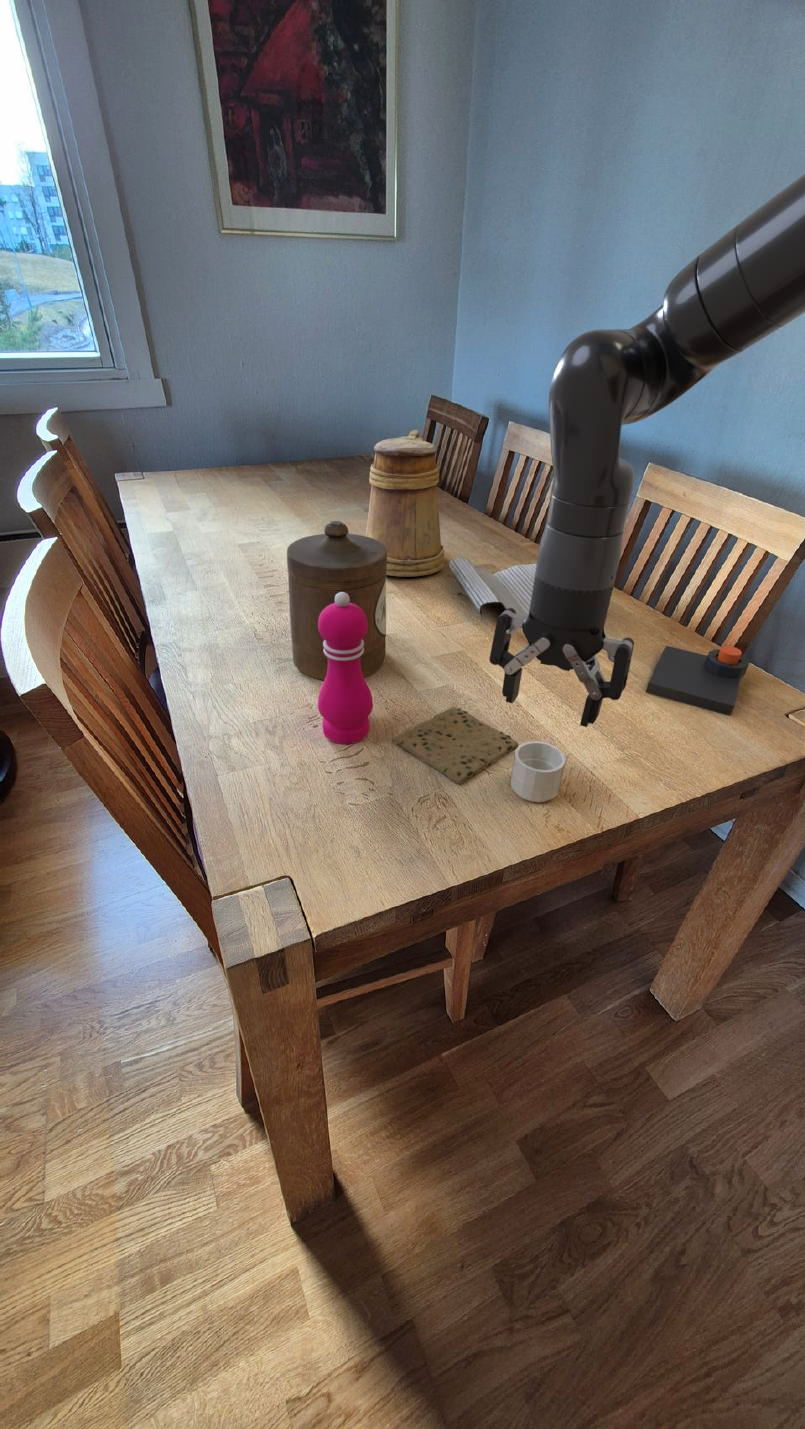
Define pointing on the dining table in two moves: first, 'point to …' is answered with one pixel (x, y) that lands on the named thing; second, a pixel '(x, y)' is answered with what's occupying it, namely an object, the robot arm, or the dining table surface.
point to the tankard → (406, 505)
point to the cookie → (456, 744)
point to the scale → (697, 679)
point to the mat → (496, 585)
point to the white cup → (537, 771)
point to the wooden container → (320, 577)
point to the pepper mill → (344, 672)
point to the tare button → (729, 655)
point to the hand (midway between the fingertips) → (547, 711)
